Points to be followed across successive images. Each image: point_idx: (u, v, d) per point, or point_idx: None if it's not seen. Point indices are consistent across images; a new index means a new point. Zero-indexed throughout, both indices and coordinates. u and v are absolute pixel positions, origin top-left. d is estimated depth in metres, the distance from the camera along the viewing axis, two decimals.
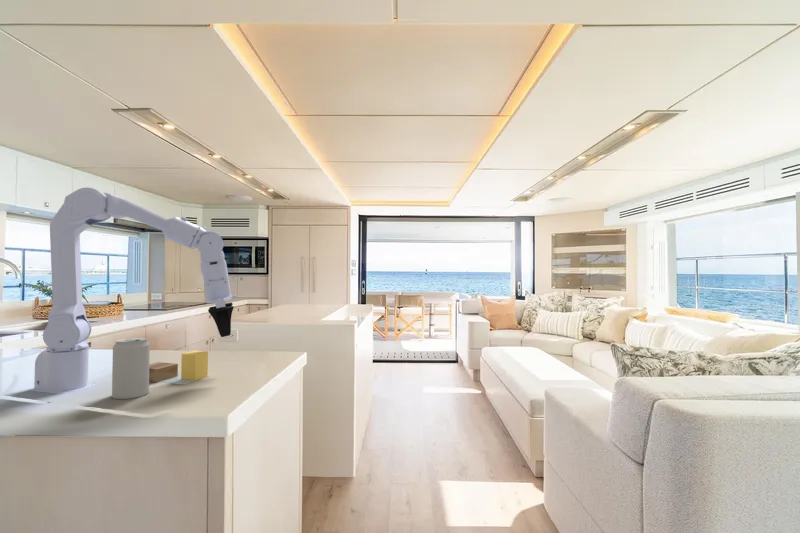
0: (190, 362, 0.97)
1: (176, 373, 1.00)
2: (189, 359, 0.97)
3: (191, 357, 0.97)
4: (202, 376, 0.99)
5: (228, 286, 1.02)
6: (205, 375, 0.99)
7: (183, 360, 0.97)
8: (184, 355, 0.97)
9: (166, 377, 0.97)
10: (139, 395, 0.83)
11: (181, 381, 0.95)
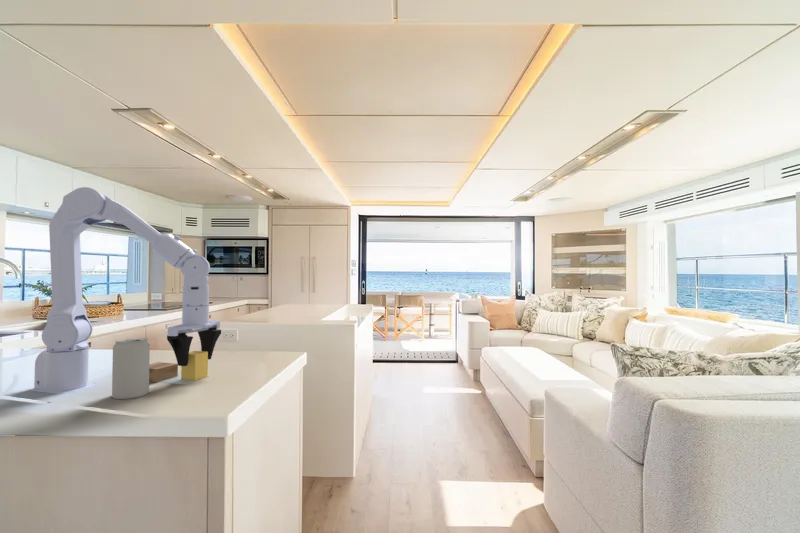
0: (190, 362, 0.97)
1: (176, 373, 1.00)
2: (189, 359, 0.97)
3: (191, 357, 0.97)
4: (202, 376, 0.99)
5: (199, 314, 0.97)
6: (205, 375, 0.99)
7: None
8: None
9: (166, 377, 0.97)
10: (139, 395, 0.83)
11: (181, 381, 0.95)
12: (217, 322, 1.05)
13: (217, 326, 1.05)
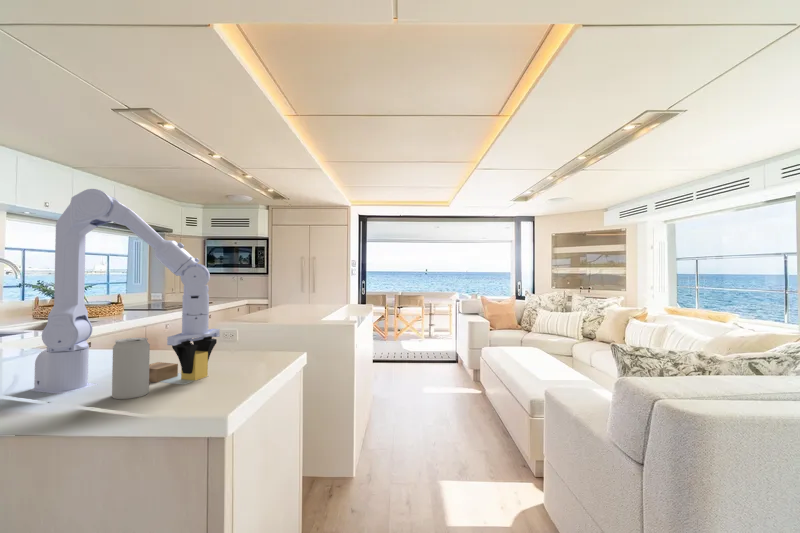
0: None
1: (176, 373, 1.00)
2: None
3: None
4: (202, 376, 0.99)
5: (199, 323, 0.97)
6: (205, 375, 0.99)
7: None
8: None
9: (166, 377, 0.97)
10: (139, 395, 0.83)
11: (181, 381, 0.95)
12: (217, 330, 1.05)
13: (217, 334, 1.05)
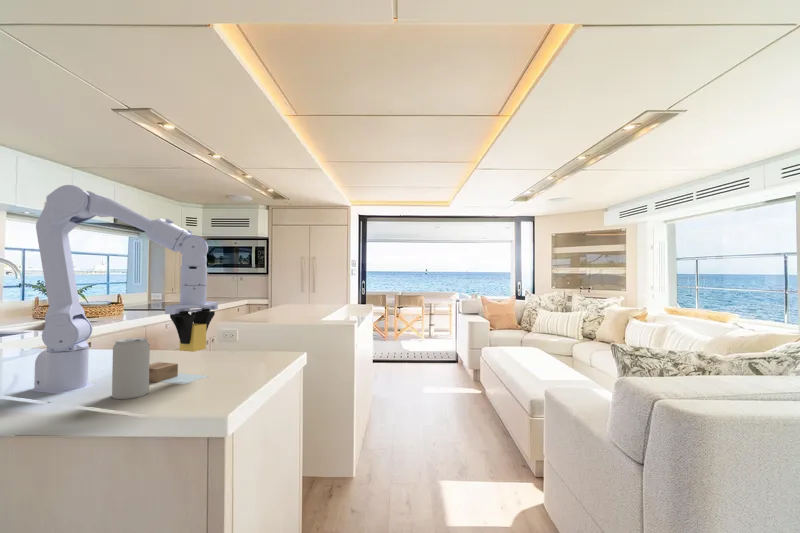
0: None
1: (176, 373, 1.00)
2: None
3: None
4: (200, 348, 0.99)
5: (197, 294, 0.97)
6: (203, 347, 1.00)
7: None
8: None
9: (166, 377, 0.97)
10: (139, 395, 0.83)
11: (181, 381, 0.95)
12: (215, 303, 1.05)
13: (215, 307, 1.05)
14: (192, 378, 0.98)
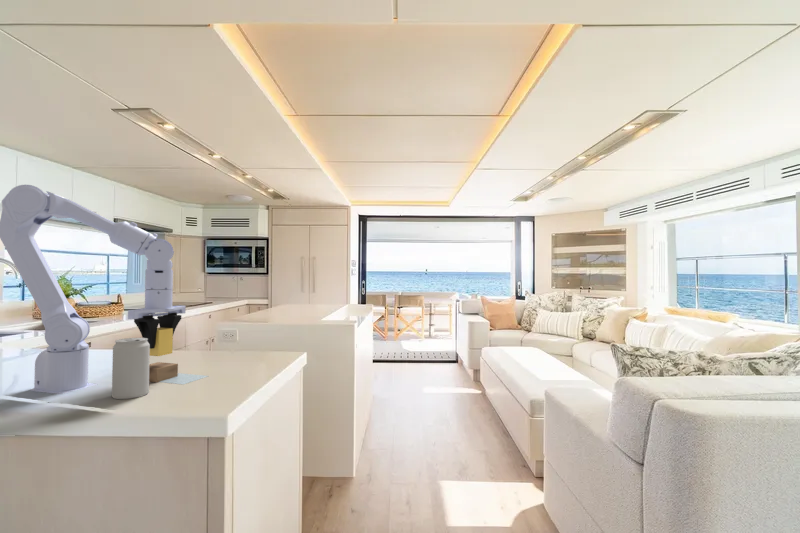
0: None
1: (176, 373, 1.00)
2: None
3: None
4: (166, 352, 0.98)
5: (162, 298, 0.97)
6: (170, 352, 0.99)
7: None
8: None
9: (166, 377, 0.97)
10: (139, 395, 0.83)
11: (181, 381, 0.95)
12: (182, 307, 1.04)
13: (182, 311, 1.04)
14: (192, 378, 0.98)
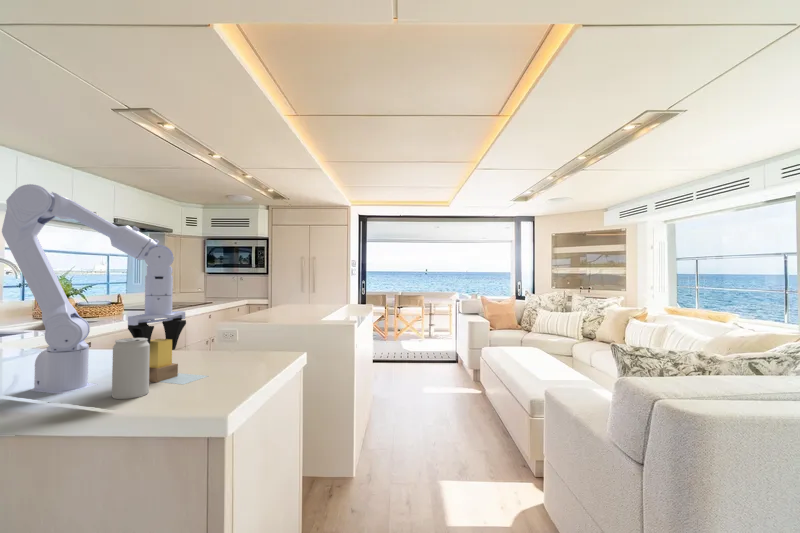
0: (153, 349, 0.96)
1: (176, 373, 1.00)
2: (152, 346, 0.96)
3: (154, 344, 0.96)
4: (166, 364, 0.98)
5: (162, 304, 0.96)
6: (169, 363, 0.99)
7: None
8: None
9: (166, 377, 0.97)
10: (139, 395, 0.83)
11: (181, 381, 0.95)
12: (182, 313, 1.04)
13: (182, 317, 1.04)
14: (192, 378, 0.98)
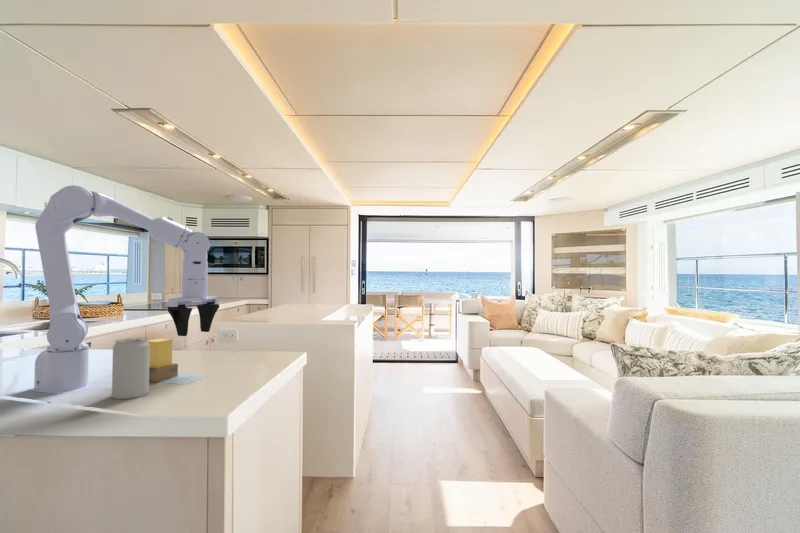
0: (153, 349, 0.96)
1: (176, 373, 1.00)
2: (152, 346, 0.96)
3: (154, 344, 0.96)
4: (166, 364, 0.98)
5: (199, 287, 1.02)
6: (169, 363, 0.99)
7: None
8: None
9: (166, 377, 0.97)
10: (139, 395, 0.83)
11: (181, 381, 0.95)
12: (215, 297, 1.10)
13: (215, 301, 1.10)
14: (192, 378, 0.98)
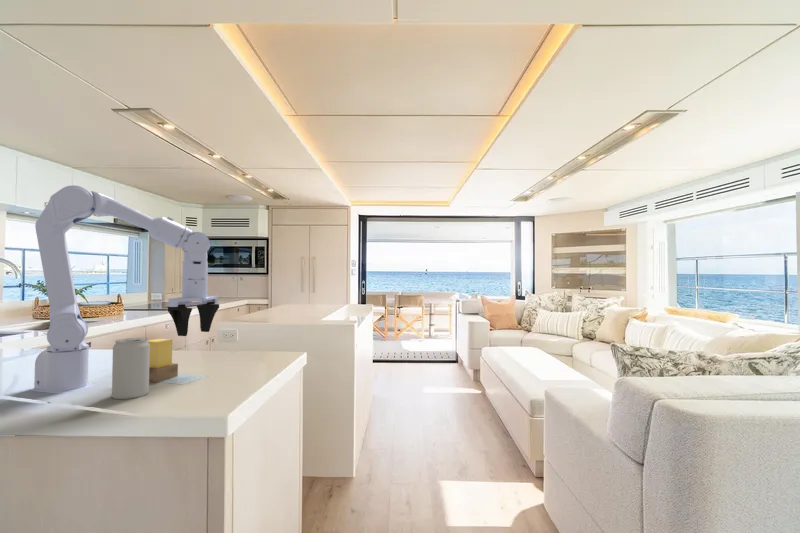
0: (153, 349, 0.96)
1: (176, 373, 1.00)
2: (152, 346, 0.96)
3: (154, 344, 0.96)
4: (166, 364, 0.98)
5: (199, 287, 1.02)
6: (169, 363, 0.99)
7: None
8: None
9: (166, 377, 0.97)
10: (139, 395, 0.83)
11: (181, 381, 0.95)
12: (215, 297, 1.10)
13: (215, 301, 1.10)
14: (192, 378, 0.98)
